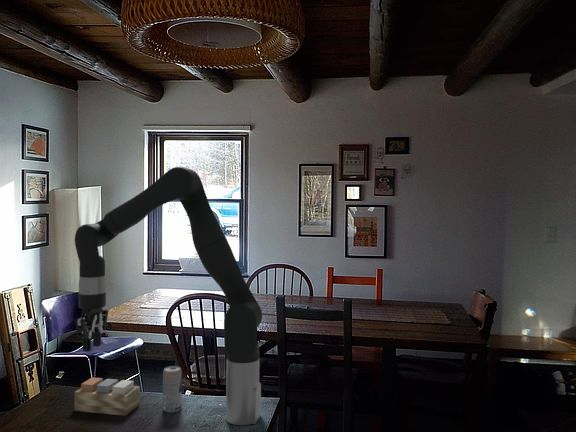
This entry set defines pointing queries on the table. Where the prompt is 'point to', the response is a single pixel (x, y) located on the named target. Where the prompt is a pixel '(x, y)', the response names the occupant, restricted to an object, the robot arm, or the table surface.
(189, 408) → the table surface
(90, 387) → the rust key
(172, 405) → the energy drink
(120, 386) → the ivory key
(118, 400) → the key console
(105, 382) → the slate key
